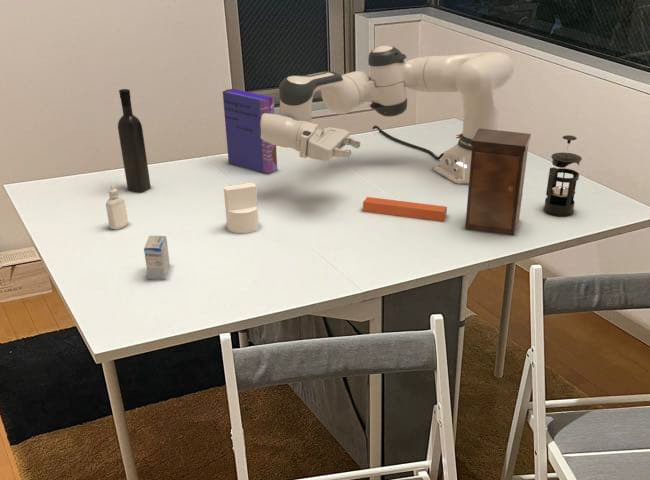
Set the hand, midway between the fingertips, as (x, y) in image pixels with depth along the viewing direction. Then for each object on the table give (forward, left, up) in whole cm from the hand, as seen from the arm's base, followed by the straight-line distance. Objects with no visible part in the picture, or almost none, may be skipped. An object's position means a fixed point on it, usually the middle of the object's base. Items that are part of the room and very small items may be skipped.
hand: (355, 149), depth 241 cm
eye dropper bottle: (-28, -63, -18) cm, 72 cm away
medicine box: (+6, -68, -18) cm, 71 cm away
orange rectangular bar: (+12, +9, -18) cm, 24 cm away
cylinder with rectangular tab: (-7, -35, -18) cm, 40 cm away
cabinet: (+35, +25, -18) cm, 46 cm away
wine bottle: (-52, -45, -18) cm, 72 cm away
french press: (+39, +50, -18) cm, 66 cm away
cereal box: (-49, -5, -18) cm, 53 cm away
